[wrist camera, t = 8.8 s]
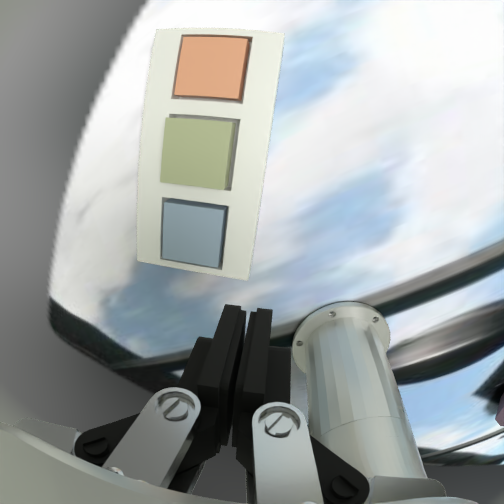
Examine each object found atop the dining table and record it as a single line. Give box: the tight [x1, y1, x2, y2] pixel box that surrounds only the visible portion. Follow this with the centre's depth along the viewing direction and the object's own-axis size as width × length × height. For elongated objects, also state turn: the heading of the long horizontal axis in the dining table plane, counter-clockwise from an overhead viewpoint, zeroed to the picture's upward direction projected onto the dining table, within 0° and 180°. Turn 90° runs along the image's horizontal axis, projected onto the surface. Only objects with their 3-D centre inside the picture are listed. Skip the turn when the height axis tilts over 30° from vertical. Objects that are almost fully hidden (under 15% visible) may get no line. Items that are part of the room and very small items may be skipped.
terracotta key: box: [174, 37, 250, 101], centre depth 23 cm, size 6×6×2 cm
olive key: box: [160, 117, 236, 190], centre depth 25 cm, size 6×6×2 cm
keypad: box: [137, 28, 285, 281], centre depth 27 cm, size 24×12×3 cm, turn 172°
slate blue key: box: [162, 198, 228, 268], centre depth 30 cm, size 6×6×2 cm
